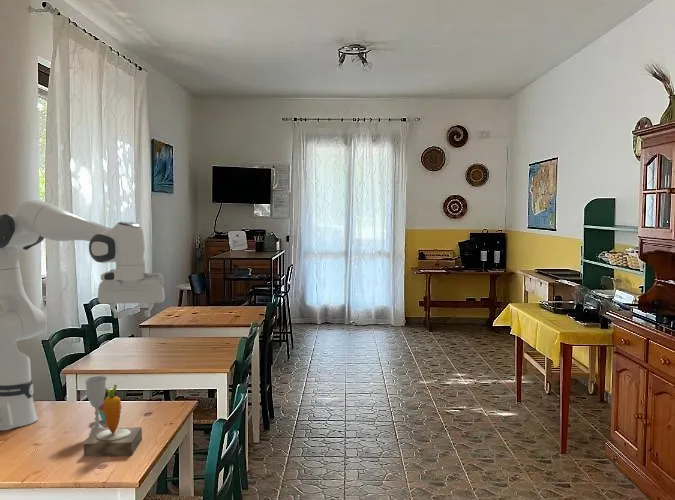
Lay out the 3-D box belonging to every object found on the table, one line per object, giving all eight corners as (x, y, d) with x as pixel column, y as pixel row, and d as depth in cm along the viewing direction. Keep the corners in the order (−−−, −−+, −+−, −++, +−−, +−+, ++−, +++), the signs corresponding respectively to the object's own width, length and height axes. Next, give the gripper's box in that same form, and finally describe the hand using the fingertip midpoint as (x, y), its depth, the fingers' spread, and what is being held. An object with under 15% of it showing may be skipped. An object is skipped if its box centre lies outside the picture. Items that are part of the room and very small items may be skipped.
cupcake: (124, 420, 240) (123, 386, 240) (99, 425, 236) (98, 390, 235) (117, 414, 247) (116, 381, 247) (93, 419, 243) (91, 385, 242)
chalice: (101, 437, 223) (99, 382, 222) (82, 436, 225) (79, 381, 224) (112, 430, 230) (111, 376, 229) (94, 429, 232) (92, 375, 231)
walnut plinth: (83, 457, 206) (83, 442, 206) (97, 441, 220) (96, 427, 219) (131, 455, 207) (131, 440, 206) (142, 439, 221) (141, 425, 220)
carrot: (105, 437, 210) (104, 388, 209) (103, 432, 214) (102, 384, 213) (122, 434, 212) (121, 386, 211) (120, 429, 216) (118, 382, 215)
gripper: (166, 272, 222) (167, 314, 223) (101, 273, 221) (102, 316, 221) (162, 273, 216) (164, 318, 216) (95, 275, 214) (97, 319, 215)
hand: (132, 317), depth 219 cm, fingers open, 8 cm apart
